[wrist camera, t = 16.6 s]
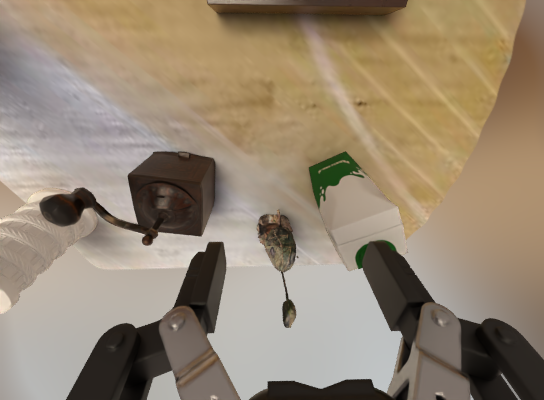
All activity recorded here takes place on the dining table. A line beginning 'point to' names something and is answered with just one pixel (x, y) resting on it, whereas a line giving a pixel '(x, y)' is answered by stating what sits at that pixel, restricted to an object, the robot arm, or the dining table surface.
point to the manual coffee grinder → (151, 197)
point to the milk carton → (354, 210)
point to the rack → (308, 6)
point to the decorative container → (34, 245)
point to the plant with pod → (279, 252)
